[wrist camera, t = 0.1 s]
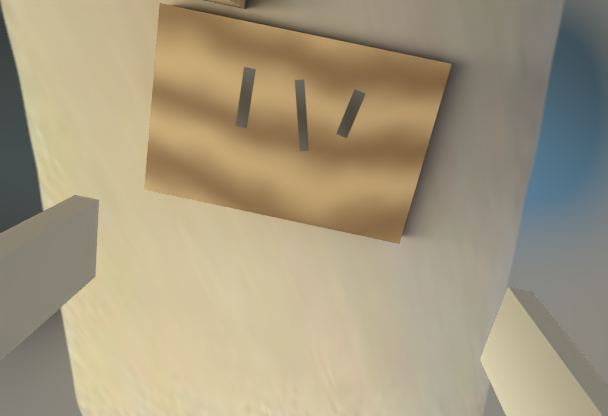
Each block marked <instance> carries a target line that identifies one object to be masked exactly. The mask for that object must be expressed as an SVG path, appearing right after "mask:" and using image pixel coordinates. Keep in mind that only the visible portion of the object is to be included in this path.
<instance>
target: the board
mask: <svg viewBox="0 0 608 416" xmlns="http://www.w3.org/2000/svg"><path fill="white" fill-rule="evenodd" d="M451 65H452V64H450V63H445V62H440V61H435V60H431V59H426V58H421V57H416V56H411V55H407V54H402V53H397V52H392V51H387V50H382V49H378V48H373V47H368V46H363V45H358V44H354V43H349V42H344V41H339V40H334V39H330V38H325V37H320V36H315V35H310V34H305V33H301V32H296V31H291V30H286V29H281V28H277V27H272V26H267V25H262V24H257V23H253V22H248V21H243V20H238V19H233V18H228V17H224V16H219V15H214V14H209V13H204V12H200V11H195V10H190V9H185V8H180V7H176V6H171V5H166V4H161V3H160V7H159V20H158V32H157V44H156V56H155V68H154V80H153V92H152V104H151V117H150V129H149V141H148V153H147V165H146V177H145V190H150V191H154V192H159V193H164V194H168V195H173V196H178V197H183V198H187V199H192V200H197V201H201V202H206V203H211V204H215V205H220V206H225V207H230V208H234V209H239V210H244V211H248V212H253V213H258V214H262V215H267V216H272V217H277V218H281V219H286V220H291V221H295V222H300V223H305V224H309V225H314V226H319V227H324V228H328V229H333V230H338V231H342V232H347V233H352V234H356V235H361V236H366V237H371V238H375V239H380V240H385V241H389V242H394V243H399V244H400V240H401V237H402V233H403V230H404V226H405V223H406V220H407V216H408V213H409V209H410V206H411V202H412V199H413V195H414V192H415V189H416V185H417V182H418V178H419V175H420V171H421V168H422V165H423V161H424V158H425V154H426V151H427V147H428V144H429V140H430V137H431V134H432V130H433V127H434V123H435V120H436V116H437V113H438V110H439V106H440V103H441V99H442V96H443V92H444V89H445V85H446V82H447V79H448V75H449V72H450V68H451Z"/></svg>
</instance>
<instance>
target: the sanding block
mask: <svg viewBox="0 0 608 416" xmlns="http://www.w3.org/2000/svg"><path fill="white" fill-rule="evenodd" d="M205 1H210V2H215V3H219V4H224V5H229V6H234V7H239V8H243V9H246V2H247V0H205Z"/></svg>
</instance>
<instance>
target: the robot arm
mask: <svg viewBox="0 0 608 416" xmlns="http://www.w3.org/2000/svg"><path fill="white" fill-rule="evenodd" d="M98 206H99V200H96V199H92V198H87V197H82V196H77V195H74V196H72V197H70V198H68V199H66V200H64V201H63V202H61V203H59V204H57V205H55V206H53V207H51V208H49V209H47V210H45V211H43V212H41V213H39V214H37V215H35V216H33V217H31V218H30V219H28V220H26V221H24V222H22V223H20V224H18V225H16V226H14V227H12V228H10V229H8V230H6V231H4V232H2V233H0V361H1V360H2V359H3V358H4V357H5V356H6V355H8V354H9V353H10V352H11V351H12V350H13V349H14V348H15V347H17V345H19V344H20V343H21V342H22V341H23V340H24V339H26V338H27V337H28V336H29V335H30V334H31V333H32V332H33V331H34V330H36V329H37V328H38V327H39V326H40V325H41V324H42V323H43V322H45V321H46V320H47V319H48V318H49V317H50V316H51V315H53V314H54V313H55V312H56V311H57V310H58V309H59V308H60V307H62V306H63V305H64V304H65V303H66V302H67V301H68V300H69V299H71V298H72V297H73V296H74V295H75V294H76V293H77V292H78V291H80V290H81V289H82V288H83V287H84V286H85V285H86V284H88V283H89V282H90V281H91V280H92V279H93V278H94V277H95V270H96V249H97V227H98ZM480 360H481V362H482V364H483V366H484V369H485V371H486V373H487V375H488V377H489V379H490V382H491V384H492V386H493V388H494V390H495V392H496V394H497V397H498V399H499V401H500V403H501V405H502V408H503V410H504V412H505V414H506V416H608V384H607V382H606V381H605V380H604V379H603V378H602V376H601V375H600V374H599V373H598V371H597V370H596V369H595V368H594V367H593V365H592V364H591V363H590V362H589V360H588V359H587V358H586V357H585V356H584V354H583V353H582V352H581V351H580V349H579V348H578V347H577V346H576V345H575V343H574V342H573V341H572V340H571V338H570V337H569V336H568V335H567V334H566V332H565V331H564V330H563V329H562V328H561V326H560V325H559V324H558V323H557V321H556V320H555V319H554V318H553V317H552V315H551V314H550V313H549V312H548V310H547V309H546V308H545V307H544V305H543V304H542V303H541V302H540V301H539V299H538V298H537V297H536V296H535V294H534V293H533V292H530V291H526V290H521V289H516V288H511V287H508V289H507V291H506V294H505V296H504V299H503V301H502V304H501V307H500V309H499V312H498V314H497V317H496V319H495V322H494V325H493V327H492V330H491V332H490V335H489V337H488V340H487V343H486V345H485V348H484V350H483V353H482V355H481V358H480Z"/></svg>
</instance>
